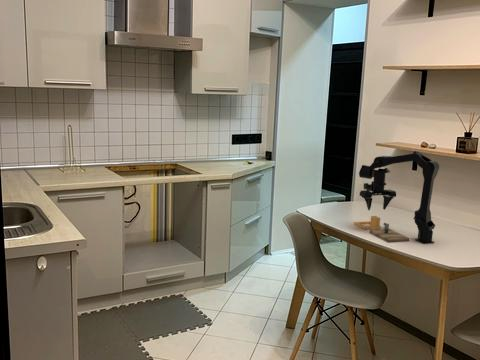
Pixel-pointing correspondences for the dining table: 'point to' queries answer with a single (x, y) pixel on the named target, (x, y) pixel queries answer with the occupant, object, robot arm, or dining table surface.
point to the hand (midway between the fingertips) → (376, 209)
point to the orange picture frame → (373, 223)
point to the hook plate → (389, 235)
